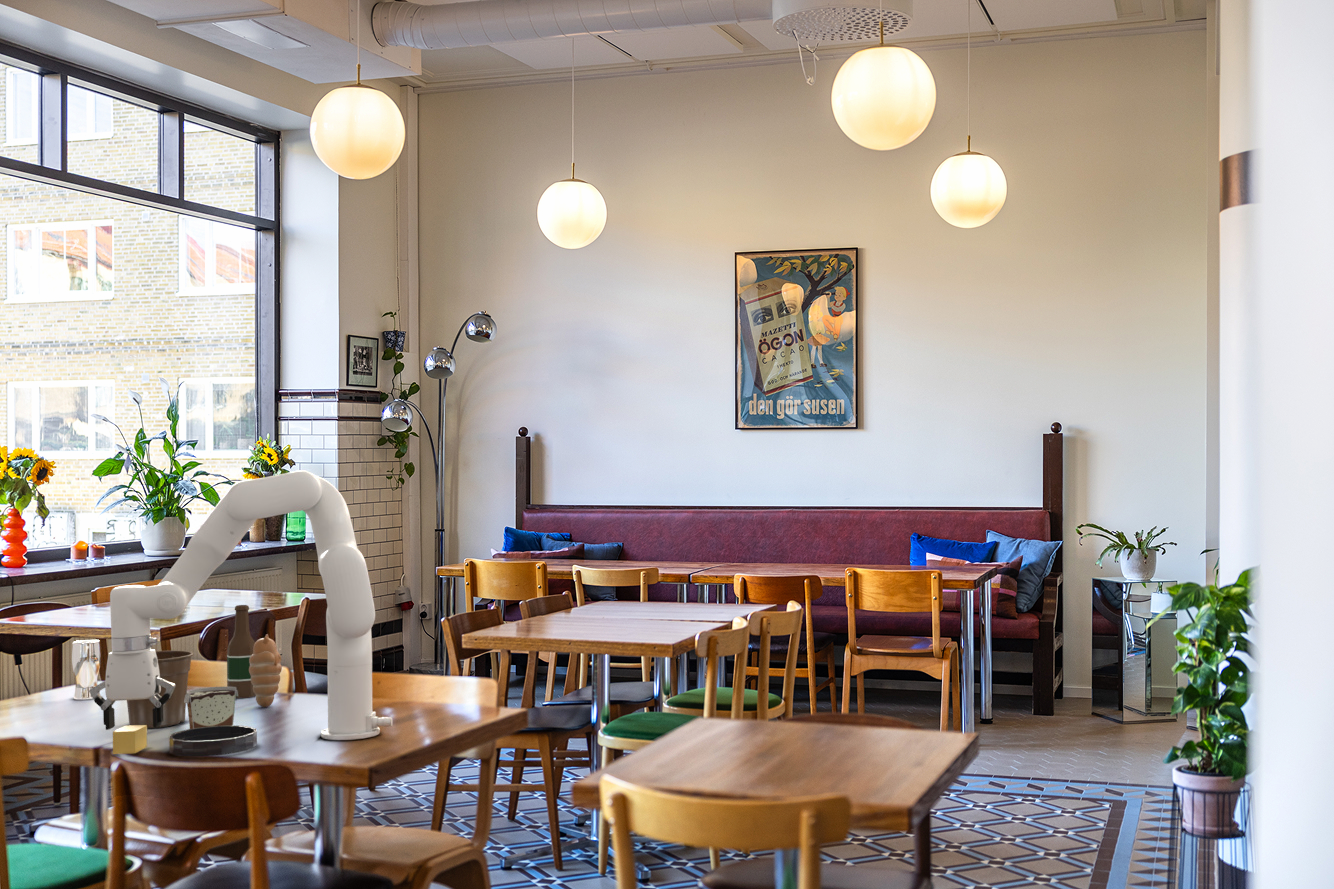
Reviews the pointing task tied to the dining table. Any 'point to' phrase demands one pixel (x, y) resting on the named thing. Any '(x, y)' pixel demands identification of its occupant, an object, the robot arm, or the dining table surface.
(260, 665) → the tan ribbed tapered piece
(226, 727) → the round cake pan
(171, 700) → the plant pot
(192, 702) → the food container
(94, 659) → the beer glass
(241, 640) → the beer bottle
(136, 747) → the cheese
